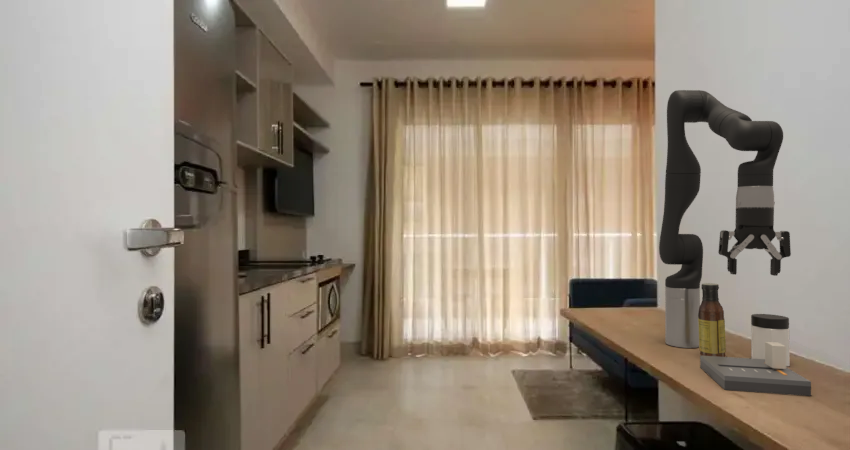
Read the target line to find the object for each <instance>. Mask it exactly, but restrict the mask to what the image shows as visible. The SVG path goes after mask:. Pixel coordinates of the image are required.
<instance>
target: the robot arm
mask: <svg viewBox="0 0 850 450" xmlns="http://www.w3.org/2000/svg"><path fill="white" fill-rule="evenodd" d="M685 123H687V124H689V123H691V124H695V123H707V125H708V127H709V129H710V131H711V132H712V133H714V134H716V135H717V136H719V137H722V138H723V139H725V142H727V144H728V145H729V147H731V148H732V149H733V150H736V151H739V152H740V151H741V152H757V153H756V156H755V157H754V159H753V160H749V161H748V160H747V161H743V162H742V163H740V164H739V165H738V167H737V187H736V188H737V189H736V194H735V195H736V196H735V223H734V224H735V229H734V230H733V231H731V230H724V229H723V230H721V231H720V232H719V240H718V251H717V252H718V255H720V256H722V257H726V258H727V267H726V269H727V272H729V273H730V275H737V273H738V272H737V269H738V267H737V264H738V259H736V257H737V256H738V255H739V254H740V253H741V252H742V251H744V250H745V249H746V250H754V249H755V250H764V251H765V252H766V253H767V254H768V255H769V256H770V257H771V258H770V268H769V271H770V272H769V273H770V275H771V276H778V274H780V272H781V267H782V266H781V265H782V260H783V259H784V258H789V257H791V255H792V252H791V251H792V249H791V233H790V231H788V230H780V231H775V230H774V225H775V224H774V223H775V222H774V220H775V217H774V216H775V202H776V201H775V191H774V169H775V165H776V163H777V160H778V155H779V153H780V150H781V147H782V144H783V140H784V131H783V129H782V127H781V125H780V123H778V122H776V121H774V120H752V118H751V117H750V116H748V115H747V114H745V113H743V112H741V111H738V110H736V109H733V108H731V107H729V106H726V105H725V104H724V103H722V102H721V101H720V100H718V99H717V98H716V97H715V96H714V95H713V94H711V93H709V92H708V91H705V90H699V89H698V90H697V89H696V90H693V89H692V90H691V89H690V90H689V89H686V90H685V89H678V90H674V91H672V93H671V94H670V95H669V97H668V100H667V105H666V128H667V130H666V131H667V133H666V134H667V147H666V148H667V151H666V154H667V155H666V165H665V166H666V167H665V180H664V205H663V215H662V222H661V230H660V237H659V243H658V244H659V245H658V253H659V257H660V260H661V261H662V263H664V264H665V265H673V266H674V265H675V266H676V265H677V266H678V265H681V268H680V269H679V270H678V271H677V272H675V273H674V274H673V273H672V275H671V274H670V275H668V276H666V277H665V284H664V285H665V287H664V288H665V289H664V290H665V291H664V293H665V294H664V295H665V302H664V303H665V304H664V305H665V307H664V308H665V312H664V313H665V317H664V318H665V325H664V326H665V329H664V330H665V333H664V334H665V335H664V336H665V338H664V339H665V342H664V343H665V344H666V345H668V346H672V347H677V348H685V349H694V348H695V349H696V348H697V349H698V348H699V323H698V313H699V307H700V305H701V281H702V279H703V263H704V261H703V259H704V245H703V242H702V239H701V237H700V236H699V235H697V234H695V233H680V225H681V223H682V220H683V217H684V215H685V213H686V212H687V210H688V208H690V206H691V204H692V203H693V202H694V200H696V198H697V196H698V195H699V191H700V187H701V173H702V172H701V170H702V169H701V165H700V162H699V160H698V158H697V156H696V155H695V153H694V152H693V150H692V148H691V147H690V145H689V143H688V140H687V136H686V130H685V126H686V124H685ZM732 237H734V238H735V240H736V242H735V243H734V244H733V246H732V247H731V249H730V250H729V241H730V240H731V239H732ZM774 238H776V239H777V240H778V242H779V251H778V250H777V247H776V246H775V245H774V244H773V243H772V241H773V240H774ZM728 250H729V251H728Z"/></svg>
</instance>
